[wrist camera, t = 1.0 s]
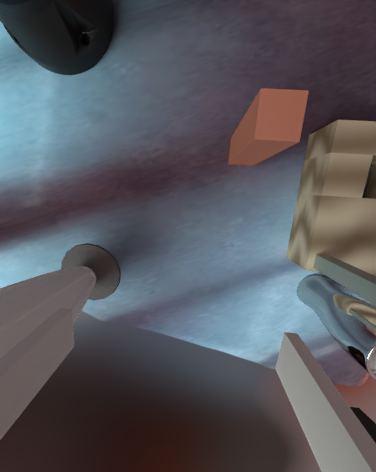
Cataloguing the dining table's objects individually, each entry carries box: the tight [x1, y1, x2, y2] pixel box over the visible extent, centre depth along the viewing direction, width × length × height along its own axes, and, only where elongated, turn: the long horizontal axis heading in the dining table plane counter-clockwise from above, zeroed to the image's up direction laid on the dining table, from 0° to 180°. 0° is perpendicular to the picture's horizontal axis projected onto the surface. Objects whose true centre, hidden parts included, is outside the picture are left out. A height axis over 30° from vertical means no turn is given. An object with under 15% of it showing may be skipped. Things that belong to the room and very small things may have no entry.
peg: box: [228, 88, 309, 166], centre depth 23 cm, size 4×4×14 cm
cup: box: [0, 244, 120, 359], centre depth 25 cm, size 12×12×22 cm
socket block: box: [286, 120, 376, 275], centre depth 28 cm, size 20×16×6 cm
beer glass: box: [297, 275, 376, 379], centre depth 27 cm, size 7×7×15 cm
